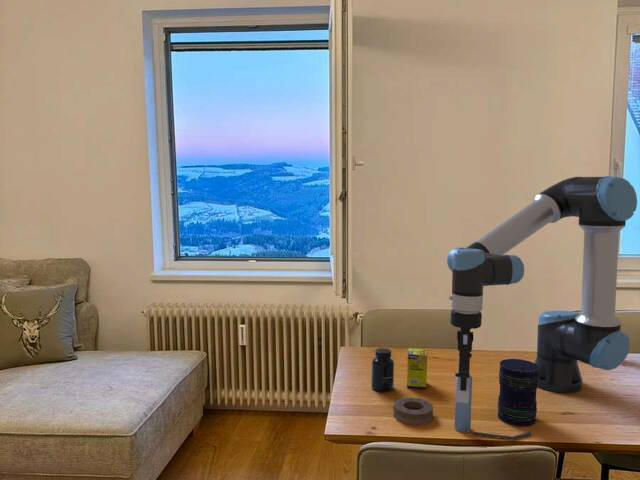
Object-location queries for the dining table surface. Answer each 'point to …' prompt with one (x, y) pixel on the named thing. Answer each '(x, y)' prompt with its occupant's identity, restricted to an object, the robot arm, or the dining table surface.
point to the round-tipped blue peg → (463, 410)
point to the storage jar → (518, 392)
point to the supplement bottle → (382, 371)
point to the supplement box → (417, 368)
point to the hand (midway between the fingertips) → (462, 391)
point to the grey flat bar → (503, 435)
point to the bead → (413, 411)
